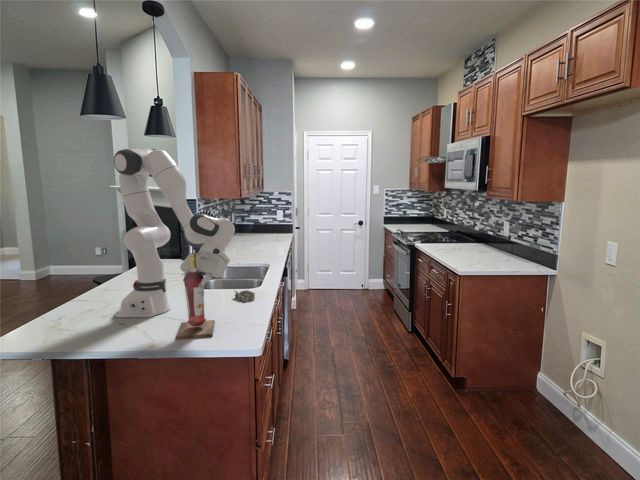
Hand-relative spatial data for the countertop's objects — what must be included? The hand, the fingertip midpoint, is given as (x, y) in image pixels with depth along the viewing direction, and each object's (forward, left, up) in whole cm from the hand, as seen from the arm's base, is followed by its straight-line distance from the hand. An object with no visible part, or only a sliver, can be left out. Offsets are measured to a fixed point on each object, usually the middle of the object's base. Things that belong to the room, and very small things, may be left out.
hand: (193, 283), depth 150 cm
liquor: (+1, +1, -17) cm, 17 cm away
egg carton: (+20, +40, -20) cm, 49 cm away
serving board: (0, 0, -19) cm, 19 cm away
